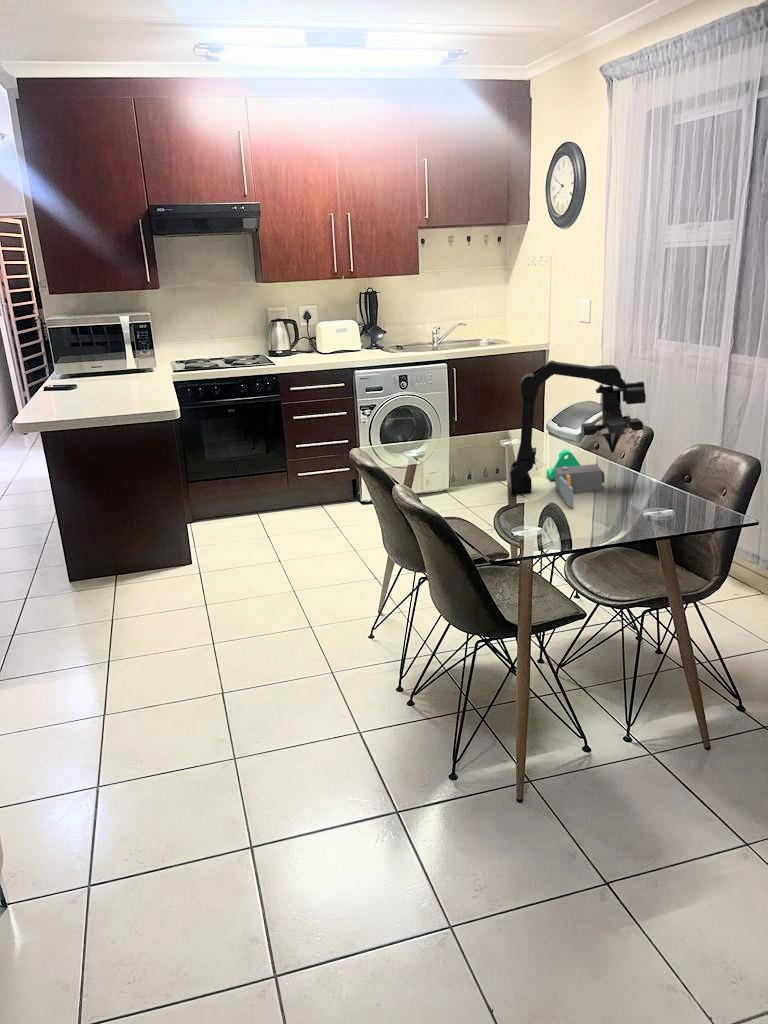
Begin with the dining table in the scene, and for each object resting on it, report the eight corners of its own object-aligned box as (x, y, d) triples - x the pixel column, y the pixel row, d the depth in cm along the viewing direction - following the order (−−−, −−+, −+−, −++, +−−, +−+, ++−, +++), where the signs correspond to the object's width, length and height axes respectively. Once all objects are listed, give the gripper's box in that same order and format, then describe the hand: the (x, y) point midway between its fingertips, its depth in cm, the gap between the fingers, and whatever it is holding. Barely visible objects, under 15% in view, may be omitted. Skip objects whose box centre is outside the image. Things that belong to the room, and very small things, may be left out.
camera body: (559, 494, 248) (558, 472, 246) (555, 487, 256) (554, 466, 253) (606, 490, 247) (605, 468, 244) (600, 483, 254) (600, 461, 252)
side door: (558, 494, 248) (557, 466, 245) (561, 493, 248) (560, 466, 245) (570, 507, 234) (569, 478, 231) (573, 507, 234) (572, 478, 231)
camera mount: (579, 472, 269) (578, 444, 266) (585, 478, 262) (584, 450, 259) (546, 476, 270) (544, 448, 266) (551, 482, 262) (549, 454, 259)
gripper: (586, 413, 234) (588, 461, 239) (647, 407, 232) (648, 456, 237) (580, 406, 244) (581, 452, 249) (638, 400, 242) (638, 447, 248)
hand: (612, 452), depth 245 cm, fingers closed
